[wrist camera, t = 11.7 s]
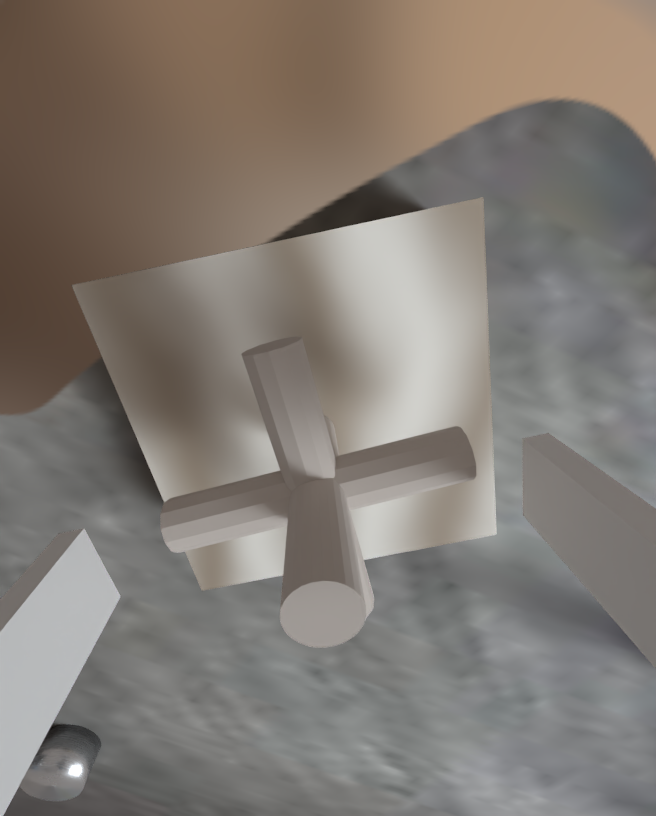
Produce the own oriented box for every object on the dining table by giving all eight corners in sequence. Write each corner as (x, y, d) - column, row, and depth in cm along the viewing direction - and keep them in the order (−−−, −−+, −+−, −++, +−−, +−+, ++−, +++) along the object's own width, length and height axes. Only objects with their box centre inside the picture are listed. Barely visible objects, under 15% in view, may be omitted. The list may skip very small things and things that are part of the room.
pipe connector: (244, 544, 19) (183, 803, 10) (168, 354, 16) (-33, 469, 7) (438, 496, 19) (569, 717, 9) (401, 292, 16) (544, 318, 6)
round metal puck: (57, 761, 35) (36, 805, 32) (32, 729, 33) (6, 772, 31) (110, 752, 35) (93, 795, 32) (87, 719, 33) (67, 761, 30)
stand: (224, 519, 26) (202, 590, 21) (136, 277, 20) (71, 284, 15) (455, 474, 26) (496, 534, 20) (433, 214, 20) (483, 197, 14)
